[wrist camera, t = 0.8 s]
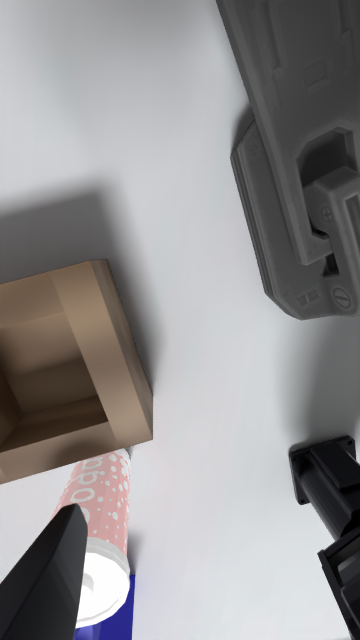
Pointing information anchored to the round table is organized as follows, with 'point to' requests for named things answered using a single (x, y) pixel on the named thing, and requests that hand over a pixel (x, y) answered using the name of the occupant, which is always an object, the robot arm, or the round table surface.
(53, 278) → the walnut well block
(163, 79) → the round table surface
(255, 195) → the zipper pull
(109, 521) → the beverage cup
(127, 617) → the blue piece
